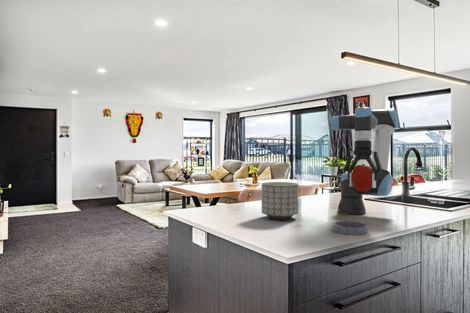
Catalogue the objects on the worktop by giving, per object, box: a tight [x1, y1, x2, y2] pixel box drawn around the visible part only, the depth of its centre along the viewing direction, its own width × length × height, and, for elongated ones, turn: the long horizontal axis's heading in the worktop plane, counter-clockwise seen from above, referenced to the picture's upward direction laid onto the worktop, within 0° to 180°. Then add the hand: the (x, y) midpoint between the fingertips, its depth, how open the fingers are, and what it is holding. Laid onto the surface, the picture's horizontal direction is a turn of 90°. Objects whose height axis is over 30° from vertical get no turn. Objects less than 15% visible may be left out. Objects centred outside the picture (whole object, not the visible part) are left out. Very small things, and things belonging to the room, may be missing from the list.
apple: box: [352, 162, 374, 192], centre depth 161 cm, size 10×10×14 cm
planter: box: [261, 181, 299, 221], centre depth 176 cm, size 19×19×18 cm
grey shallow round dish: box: [332, 220, 368, 236], centre depth 148 cm, size 14×14×3 cm
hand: (362, 186), depth 161 cm, fingers closed on apple, 10 cm apart
